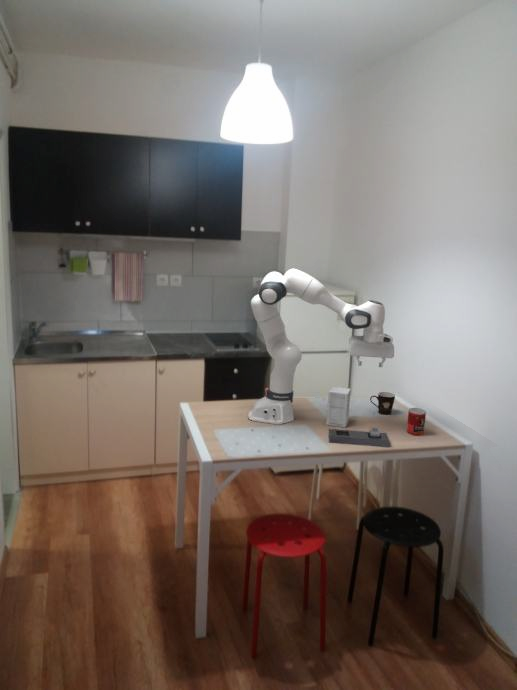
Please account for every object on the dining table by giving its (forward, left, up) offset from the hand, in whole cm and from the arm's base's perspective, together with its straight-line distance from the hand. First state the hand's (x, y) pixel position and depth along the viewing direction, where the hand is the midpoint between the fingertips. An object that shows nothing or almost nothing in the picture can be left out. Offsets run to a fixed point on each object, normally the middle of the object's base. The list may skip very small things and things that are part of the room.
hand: (370, 366), depth 262 cm
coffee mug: (+12, +28, -31) cm, 44 cm away
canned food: (+24, +2, -31) cm, 40 cm away
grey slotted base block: (-4, -14, -31) cm, 34 cm away
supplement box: (-12, +7, -31) cm, 34 cm away
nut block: (+3, -14, -31) cm, 34 cm away
